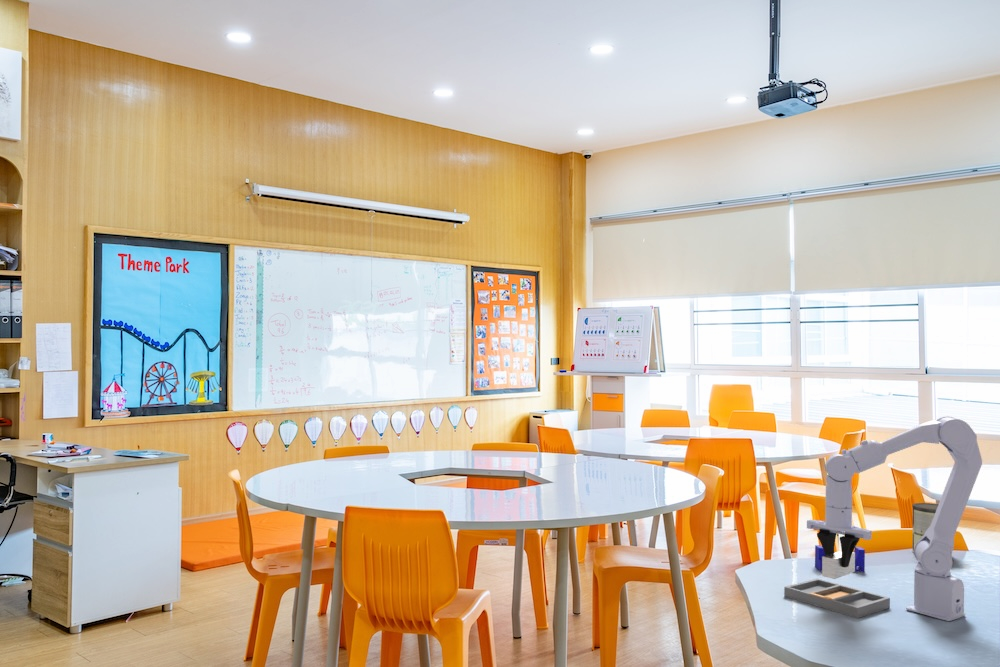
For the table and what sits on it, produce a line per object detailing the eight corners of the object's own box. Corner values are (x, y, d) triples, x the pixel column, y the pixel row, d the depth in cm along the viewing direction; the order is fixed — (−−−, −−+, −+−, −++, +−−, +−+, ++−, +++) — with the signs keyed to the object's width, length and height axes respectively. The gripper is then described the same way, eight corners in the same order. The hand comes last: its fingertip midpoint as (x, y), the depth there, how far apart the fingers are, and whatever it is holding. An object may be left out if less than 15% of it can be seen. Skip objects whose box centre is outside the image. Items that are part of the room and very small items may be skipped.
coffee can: (906, 548, 239) (907, 502, 239) (942, 550, 237) (943, 503, 238) (919, 557, 228) (920, 508, 229) (957, 559, 227) (958, 510, 227)
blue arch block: (820, 571, 210) (820, 549, 211) (814, 567, 215) (815, 545, 215) (866, 573, 209) (867, 551, 210) (860, 569, 214) (860, 547, 214)
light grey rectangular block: (854, 571, 187) (855, 552, 187) (834, 579, 180) (835, 559, 180) (842, 568, 189) (842, 550, 189) (822, 576, 182) (822, 556, 182)
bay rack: (889, 607, 180) (889, 597, 180) (857, 618, 172) (857, 607, 172) (817, 587, 195) (817, 577, 195) (784, 596, 187) (784, 586, 187)
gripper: (877, 509, 182) (876, 569, 181) (817, 499, 193) (816, 555, 192) (864, 513, 177) (863, 574, 177) (802, 502, 188) (801, 560, 188)
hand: (837, 564), depth 184 cm, fingers closed on light grey rectangular block, 3 cm apart
